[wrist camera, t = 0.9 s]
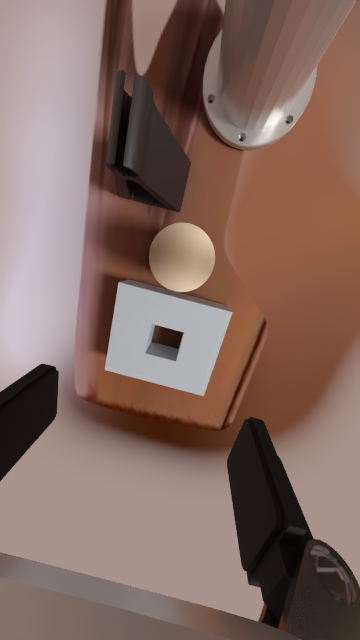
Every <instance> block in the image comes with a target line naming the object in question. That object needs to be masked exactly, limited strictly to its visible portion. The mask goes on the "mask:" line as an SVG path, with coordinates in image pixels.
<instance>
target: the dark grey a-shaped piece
mask: <svg viewBox="0 0 360 640" xmlns="http://www.w3.org/2000/svg"><path fill="white" fill-rule="evenodd" d="M125 75H126V73H125V72H124V70H120V71H118V72H117V74H116V80H115V89H114V98H113V106H112V115H111V124H110V133H109V142H108V151H107V160H106V166H107V167H108V168H109V169H110V170H111V171H112V172H113V173H114V174H115V176H116V185H117V193H118V196H119V197H123V198H126V199H130V200H134V201H138V202H142V203H146V204H150V205H154V206H157V207H161V208H165V209H169V210H173V211H177V212H180V210H181V205H182V201H183V196H184V191H185V187H186V182H187V178H188V173H189V169H190V164H191V162H190V160H189V159H188V157H187V155H186V154H185V152H184V151H183V149H182V148H181V146H180V144H179V143H178V141H177V140H176V138H175V137H174V135H173V134H172V132H171V130H170V129H169V127H168V126H167V124H166V123H165V121H164V119H163V118H162V116H161V115H160V113H159V112H158V110H157V108H156V106H155V104H154V100H153V92H152V89H151V87H150V86H149V84H148V83H147V82H146V81H145V80H144V79H143V78H142V77H141V76H140V75H138V74H136V73H135V78H134V86H133V93H132V97H131V96H129V95H128V93H127V92H126V91H125V90H124V83H125Z"/></svg>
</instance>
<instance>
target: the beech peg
mask: <svg viewBox="0 0 360 640" xmlns="http://www.w3.org/2000/svg"><path fill="white" fill-rule="evenodd" d="M214 263H215V252H214V247H213V244H212V242H211V240H210V238H209V237H208V235H207V234H206V233H205V232H204V231H203V230H202V229H200V228H199V227H197V226H195V225H192V224H189V223H175V224H172V225H169V226H167V227H165V228H164V229H163V230H161V231H160V232H159V233H158V234H157V235H156V237H155V238H154V240H153V242H152V244H151V247H150V251H149V264H150V268H151V271H152V273H153V275H154V277H155V278H156V280H157V281H158V282H159V283H160V284H161V285H163V286H164V287H166V288H167V289H169V290H172V291H176V292H187V291H191V290H194V289H196V288H198V287H200V286H201V285H202V284H203V283H205V281H206V280H207V279H208V278H209V276H210V275H211V273H212V270H213V267H214Z"/></svg>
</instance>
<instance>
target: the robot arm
mask: <svg viewBox="0 0 360 640" xmlns="http://www.w3.org/2000/svg"><path fill="white" fill-rule="evenodd" d="M355 2H356V0H226V3H225V12H224V20H223V28H222V29H221V31H220V32H219V34H218V35H217V37H216V38H215V40H214V42H213V45H212V47H211V49H210V51H209V54H208V57H207V61H206V64H205V69H204V76H203V105H204V109H205V113H206V117H207V119H208V121H209V123H210V126H211V127H212V129H213V130H214V132H215V133H216V135H217V136H218V137H219V138H220V139H221V140H222V141H223V142H225V143H227V144H228V145H230V146H231V147H234V148H237V149H240V150H258V149H262V148H265V147H267V146H270V145H272V144H273V143H275V142H277V141H278V140H280V139H281V138H282V137H283V136H285V135H286V134H287V133H288V132H289V131H290V130H291V128H292V127H293V126H294V125H295V124H296V122H297V121H298V119H299V118H300V116H301V115H302V114H303V112H304V110H305V108H306V106H307V104H308V102H309V100H310V97H311V94H312V91H313V89H314V84H315V79H316V74H317V64H318V62H319V60H320V59H321V57H322V56H323V54H324V52H325V51H326V49H327V47H328V46H329V44H330V43H331V41H332V39H333V38H334V36H335V34H336V33H337V31H338V30H339V28H340V26H341V25H342V23H343V21H344V20H345V18H346V17H347V15H348V13H349V12H350V10H351V9H352V7H353V5H354V4H355ZM210 103H212V104H210ZM286 123H287V124H286ZM239 140H242V141H243V142H241V141H239ZM57 395H58V371H57V370H56V367H54V366H50V365H46V364H41V365H39V366H37V367H36V368H34V369H33V370H32V371H30V372H29V373H27V374H26V375H24V376H23V377H21V378H20V379H19V380H17V381H16V382H14V383H13V384H11V385H10V386H8V387H7V388H5V389H4V390H2V391H1V392H0V481H1V480H2V479H3V477H4V476H5V475H6V474H7V473H8V472H9V471H10V469H11V468H12V467H13V466H14V465H15V464H16V462H17V461H18V460H19V459H20V458H21V457H22V456H23V455H24V453H25V452H26V451H27V450H28V449H29V448H30V446H31V445H32V444H33V443H34V442H35V441H36V440H37V439H38V438H39V436H40V435H41V434H42V433H43V432H44V431H45V429H46V428H47V427H48V426H49V425H50V424H51V423H52V421H53V420H54V419H55V417H56V414H57ZM227 468H228V474H229V482H230V488H231V495H232V502H233V509H234V516H235V523H236V530H237V536H238V543H239V549H240V550H239V551H240V557H241V563H242V567H243V569H244V571H247V577H248V583H249V585H253V586H257V587H261V592H262V597H263V601H264V606H263V609H262V612H261V615H260V618H259V621H258V622H257V621H254V620H251V619H247V618H244V617H240V616H237V615H234V614H230V613H227V612H223V611H220V610H217V609H213V608H210V607H206V606H202V605H198V604H195V603H191V602H187V601H184V600H180V599H176V598H173V597H169V596H165V595H161V594H158V593H153V592H150V591H147V590H143V589H139V588H135V587H131V586H128V585H124V584H120V583H116V582H112V581H109V580H105V579H101V578H97V577H93V576H89V575H86V574H82V573H78V572H74V571H70V570H67V569H63V568H59V567H55V566H51V565H47V564H44V563H40V562H36V561H32V560H28V559H24V558H20V557H16V556H12V555H8V554H4V553H0V640H360V587H359V584H358V582H357V580H356V578H355V576H354V575H353V572H352V571H351V569H350V568H349V566H348V565H347V563H346V562H345V561H344V559H343V558H342V557H341V556H340V555H339V554H338V553H337V552H336V551H335V550H334V549H333V548H332V547H330V546H329V545H328V544H327V543H325V542H323V541H321V540H318V539H313V536H312V534H311V532H310V529H309V527H308V524H307V522H306V520H305V517H304V515H303V513H302V510H301V507H300V505H299V503H298V500H297V498H296V495H295V493H294V491H293V488H292V486H291V483H290V481H289V478H288V476H287V474H286V471H285V469H284V466H283V464H282V462H281V460H280V458H279V457H278V456H277V453H276V451H275V448H274V446H273V443H272V441H271V438H270V436H269V434H268V431H267V429H266V426H265V424H264V422H263V420H260V419H256V418H252V417H250V418H249V419H248V420H247V419H245V421H244V423H243V425H242V427H241V429H240V432H239V434H238V436H237V438H236V441H235V443H234V445H233V448H232V450H231V452H230V454H229V457H228V460H227Z"/></svg>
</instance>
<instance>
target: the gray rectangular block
mask: <svg viewBox="0 0 360 640" xmlns="http://www.w3.org/2000/svg"><path fill="white" fill-rule="evenodd" d="M231 315H232V311H231V310H230V308H229V307H228V306H227V305H224V304H220V303H216V302H213V301H209V300H205V299H201V298H198V297H194V296H190V295H186V294H183V293H179V292H175V291H171V290H167V289H164V288H160V287H156V286H152V285H149V284H145V283H141V282H137V281H134V280H130V279H129V280H125V281H121V282H119V283H118V289H117V296H116V302H115V308H114V315H113V321H112V327H111V334H110V340H109V346H108V353H107V359H106V365H105V370H107V371H111V372H115V373H118V374H122V375H126V376H130V377H134V378H137V379H141V380H145V381H149V382H152V383H156V384H160V385H164V386H168V387H171V388H175V389H179V390H183V391H186V392H190V393H194V394H198V395H202V396H204V393H205V391H206V388H207V385H208V382H209V379H210V376H211V373H212V370H213V367H214V364H215V362H216V359H217V356H218V353H219V350H220V347H221V344H222V341H223V338H224V335H225V333H226V330H227V327H228V324H229V321H230V318H231ZM155 325H158V326H162V327H165V328H169V329H173V330H177V331H181V332H183V334H182V338H181V342H180V345H179V349H177V348H173V347H170V346H166V345H162V344H158V343H155V342H152V337H153V333H154V328H155Z"/></svg>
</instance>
